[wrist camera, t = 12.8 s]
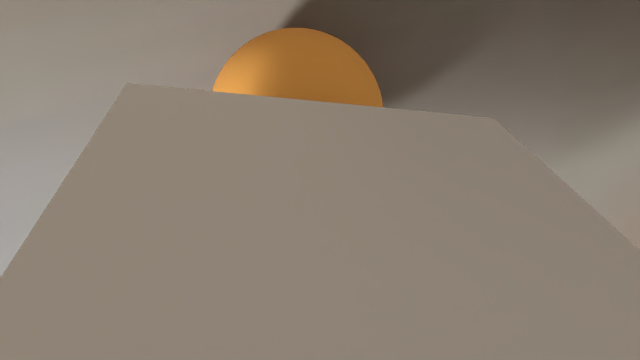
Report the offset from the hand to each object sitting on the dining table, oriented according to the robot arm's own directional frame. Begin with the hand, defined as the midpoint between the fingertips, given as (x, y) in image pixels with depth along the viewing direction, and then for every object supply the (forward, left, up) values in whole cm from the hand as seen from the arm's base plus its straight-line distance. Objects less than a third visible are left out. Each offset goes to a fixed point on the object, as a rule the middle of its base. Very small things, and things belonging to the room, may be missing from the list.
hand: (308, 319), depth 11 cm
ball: (-2, 0, -7) cm, 7 cm away
